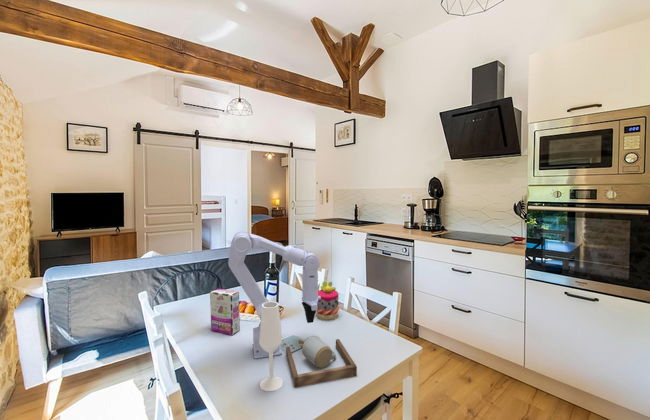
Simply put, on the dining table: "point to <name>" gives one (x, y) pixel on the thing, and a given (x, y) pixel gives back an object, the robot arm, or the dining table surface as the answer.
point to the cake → (327, 303)
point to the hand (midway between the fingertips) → (310, 321)
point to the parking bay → (323, 374)
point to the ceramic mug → (317, 351)
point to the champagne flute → (270, 341)
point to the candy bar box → (225, 311)
